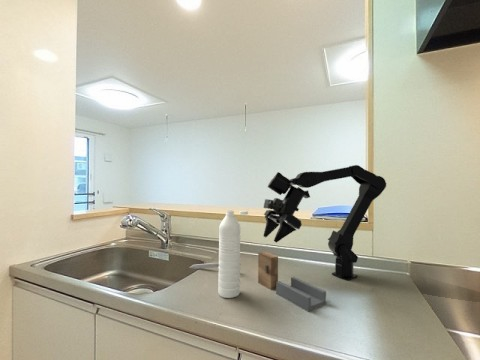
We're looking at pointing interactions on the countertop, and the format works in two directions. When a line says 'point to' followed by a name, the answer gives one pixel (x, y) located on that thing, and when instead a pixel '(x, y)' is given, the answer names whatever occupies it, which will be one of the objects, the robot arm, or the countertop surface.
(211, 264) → the caliper
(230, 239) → the water bottle
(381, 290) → the countertop surface
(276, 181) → the robot arm
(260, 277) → the door slab
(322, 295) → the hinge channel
